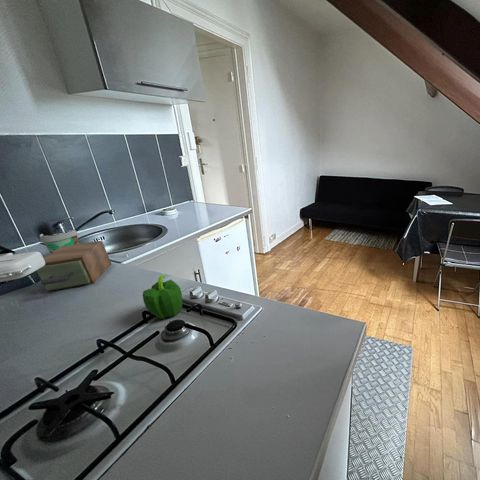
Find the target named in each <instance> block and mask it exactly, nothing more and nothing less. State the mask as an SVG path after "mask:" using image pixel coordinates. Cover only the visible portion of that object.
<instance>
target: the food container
mask: <svg viewBox="0 0 480 480" xmlns="http://www.w3.org/2000/svg"><path fill="white" fill-rule="evenodd" d="M78 235H79V233H78V232H77V230H76V229H73V230H71V231H68V232H57V233H53V234H47V235H45V234H43V233H41V234H39V242H40V243H43V244H44V246H45V247H46V248H47V250H48V251H49V254H51V253H52V252H54V251H55V250H57V249H59V248H60V247H62V246H69V245H76V244H80V241H79V238H78V237H79V236H78Z"/></svg>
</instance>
